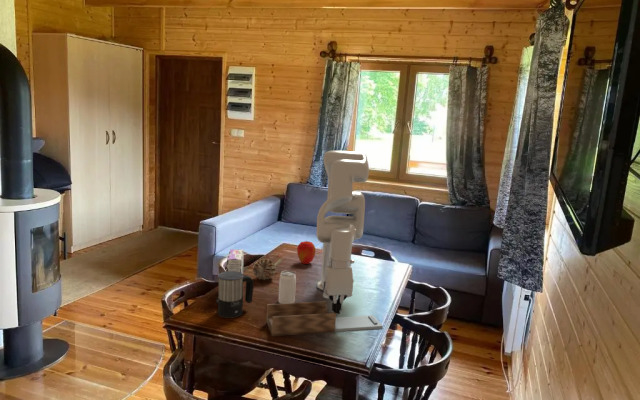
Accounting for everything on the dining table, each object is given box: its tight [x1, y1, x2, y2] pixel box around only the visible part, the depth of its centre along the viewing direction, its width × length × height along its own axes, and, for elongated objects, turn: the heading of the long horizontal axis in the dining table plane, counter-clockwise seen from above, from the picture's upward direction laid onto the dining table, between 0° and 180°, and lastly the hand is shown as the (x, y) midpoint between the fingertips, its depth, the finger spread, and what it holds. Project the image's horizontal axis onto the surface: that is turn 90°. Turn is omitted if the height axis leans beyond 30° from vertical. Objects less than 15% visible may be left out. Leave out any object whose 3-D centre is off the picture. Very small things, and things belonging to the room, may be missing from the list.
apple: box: [297, 240, 317, 265], centre depth 244 cm, size 9×9×12 cm
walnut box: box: [266, 300, 337, 337], centre depth 171 cm, size 22×11×7 cm, turn 106°
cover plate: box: [335, 314, 384, 332], centre depth 177 cm, size 18×9×2 cm, turn 105°
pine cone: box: [252, 258, 283, 281], centre depth 221 cm, size 22×10×10 cm, turn 161°
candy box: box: [226, 248, 245, 275], centre depth 199 cm, size 14×6×16 cm, turn 5°
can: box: [278, 270, 297, 304], centre depth 193 cm, size 6×6×12 cm
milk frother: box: [215, 270, 254, 319], centre depth 183 cm, size 14×16×15 cm
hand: (336, 312), depth 175 cm, fingers closed
